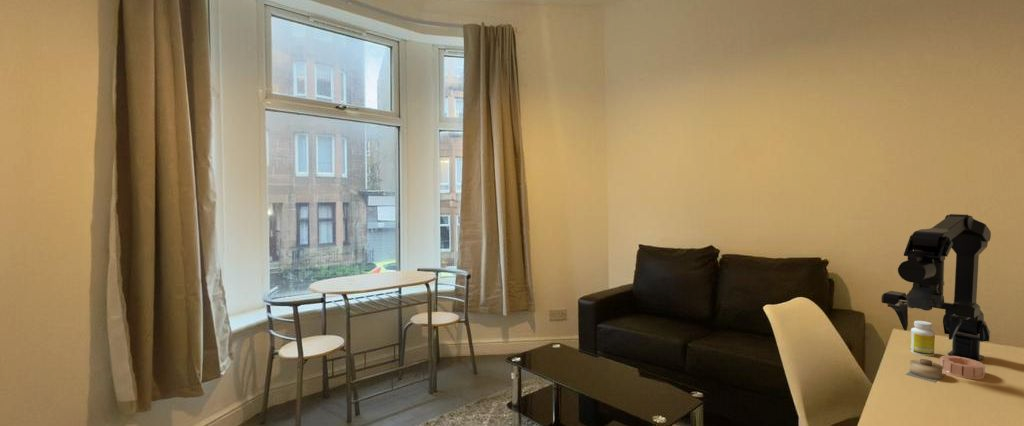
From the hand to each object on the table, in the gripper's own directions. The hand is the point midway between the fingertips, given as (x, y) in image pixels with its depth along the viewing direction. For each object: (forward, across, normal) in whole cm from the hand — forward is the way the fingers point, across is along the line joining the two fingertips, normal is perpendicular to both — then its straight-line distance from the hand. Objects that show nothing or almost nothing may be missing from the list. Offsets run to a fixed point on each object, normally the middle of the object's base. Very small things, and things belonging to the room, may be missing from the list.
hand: (927, 334), depth 120 cm
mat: (+11, 0, 0) cm, 11 cm away
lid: (+11, 0, 0) cm, 11 cm away
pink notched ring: (+11, +5, +9) cm, 15 cm away
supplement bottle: (+12, -6, +19) cm, 23 cm away
